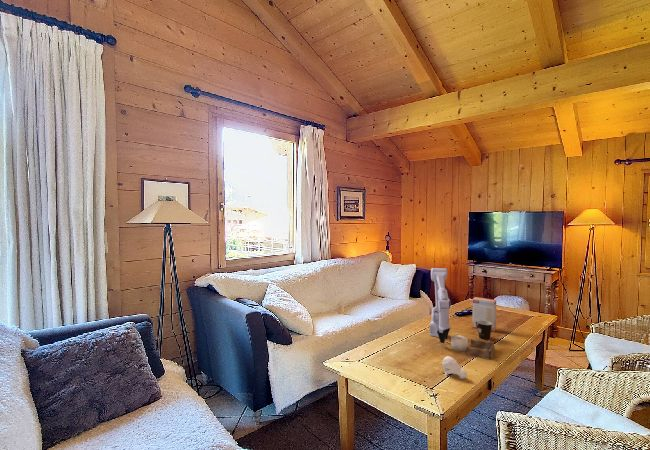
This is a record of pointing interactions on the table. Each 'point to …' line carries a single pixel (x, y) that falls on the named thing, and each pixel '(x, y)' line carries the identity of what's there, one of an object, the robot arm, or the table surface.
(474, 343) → the cradle
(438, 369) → the table surface
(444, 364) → the white rounded piece
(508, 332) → the table surface
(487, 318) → the cracker box
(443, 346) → the table surface
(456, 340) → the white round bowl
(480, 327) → the coffee mug
